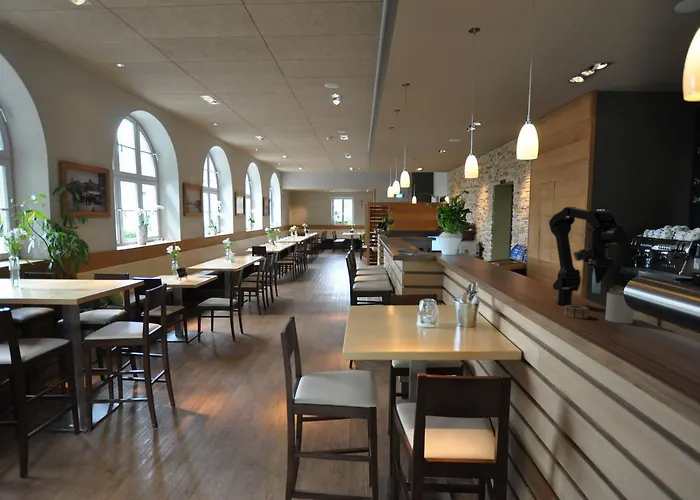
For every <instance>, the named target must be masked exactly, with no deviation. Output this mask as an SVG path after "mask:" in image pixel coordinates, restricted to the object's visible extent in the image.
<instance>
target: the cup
mask: <svg viewBox="0 0 700 500" xmlns="http://www.w3.org/2000/svg"><path fill="white" fill-rule="evenodd" d="M624 293H625V292H621V291H608V292H606V302H605V303H606V304H605V305H606V306H605V317H604V318H605V320H606V321H608V322H611V323H612V322H613V323H616V324H617V323H618V324H633V322H634V310H635V309H634V310H632V309H631V308H629V307H628V306H627V304H626V302H625V300H624Z"/></svg>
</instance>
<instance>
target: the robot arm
mask: <svg viewBox="0 0 700 500" xmlns="http://www.w3.org/2000/svg"><path fill="white" fill-rule="evenodd" d="M575 219H580V220H583V221H586V223H588V224H590V225H591V226H589V227H588V228H587V231H588V232H591V233H590V244H588V246H587V248H586V249H585V248H583V249H579V250H578V251H574V252H573V254H572V252H571V251H572V250H571V245H570V237H569V234H570V233H571V230H572V225H573V224H574V223H575V221H576V220H575ZM548 225H549V229H550V232H551V233H552V234H553V236H555V240H556V247H557V253H558V259H559V265H560V267H559V268H560V269H559V271H558V273H557V279H556V280H555V281H554V282H553V283H552V289H553V290H555V291H557V300H555V301H554V302H555V303H556V305H560V306H565V305H575V304H574V303H573V293H574V292H578V291H579V288H580V286H581V280H582V278H581V272H580V270H579V269H576V268H575V267H574V263H573V257H574V259H575V261H577V262H579V261H582V263H583V262H584V263H585V265H587V267H589V268H590V271H591V276H592V278H593V268H594V270H595V279H596V283H600V281H601V282H602V279H604V276H605V275H606V273H607V272H608V270H609V269H610V268H612V267H615V264H616V262H615V260H614V259H613V258H609V256H608V249H610V245H608V244H611V245H622V244H624V243H625V242H626V241H627V238H628V234H627V232H626V231H625V229H623V225H619V224H618V223H617V221H616V220H615V217H614V215H613V213H612V211H611V210H602V209H601V210H600V209H599V210H597V209H596V210H595V209H594V210H591V209H590V210H589V209H584V208H578V207H575V206H566V207H564V208H562V209H561V211H558V212H557V213H555V214H554V215H553V216H552V217H551V218H550V219H549V222H548ZM572 255H573V257H572Z"/></svg>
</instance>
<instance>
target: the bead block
mask: <svg viewBox="0 0 700 500" xmlns="http://www.w3.org/2000/svg"><path fill="white" fill-rule="evenodd" d="M589 308H590V307H587V306H583V305H577V304H574V305H564V316H565V317H570V318H575V319H589V312H590V311H589V310H590V309H589Z"/></svg>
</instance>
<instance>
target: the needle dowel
mask: <svg viewBox="0 0 700 500" xmlns="http://www.w3.org/2000/svg"><path fill="white" fill-rule="evenodd" d="M591 282H592V283H591V294H592V293H593V294H601V284H602V283H601V282H602V280H601V281H600V283H596V279H595V270H594V268H593V277H592V281H591Z"/></svg>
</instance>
